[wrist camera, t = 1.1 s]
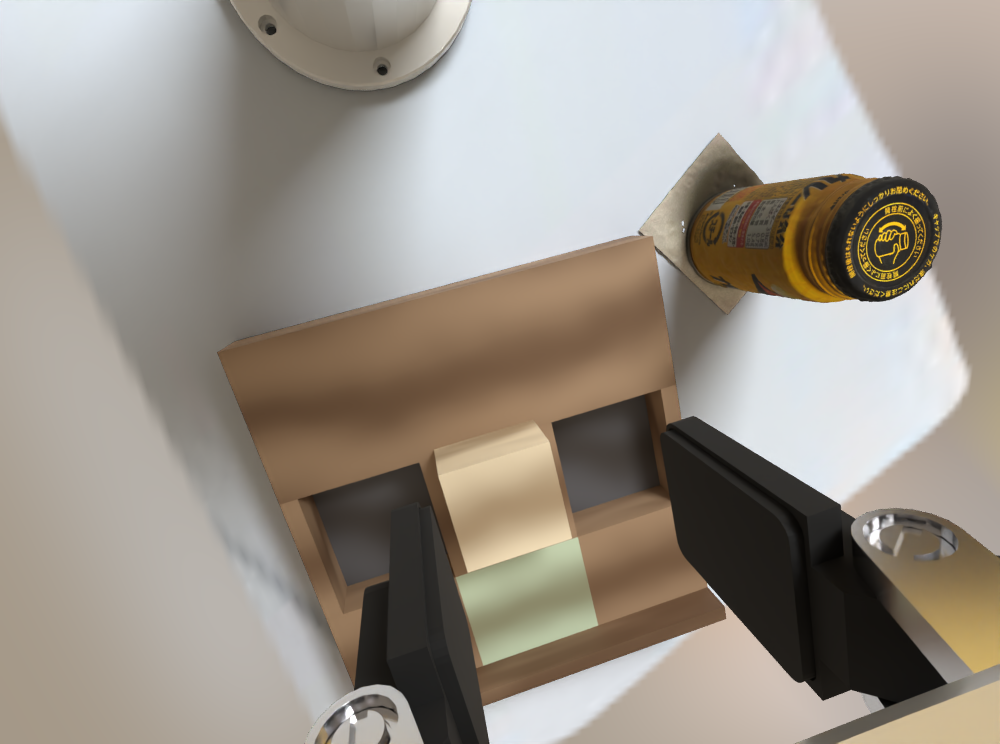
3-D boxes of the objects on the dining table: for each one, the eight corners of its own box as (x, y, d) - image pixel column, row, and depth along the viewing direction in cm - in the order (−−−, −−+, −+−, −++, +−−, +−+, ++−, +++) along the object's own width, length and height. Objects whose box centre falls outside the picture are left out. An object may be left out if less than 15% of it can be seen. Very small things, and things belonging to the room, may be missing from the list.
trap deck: (234, 341, 30) (203, 361, 25) (630, 235, 33) (670, 235, 28) (369, 682, 37) (365, 748, 32) (686, 572, 40) (726, 618, 35)
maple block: (433, 449, 30) (438, 475, 27) (533, 419, 31) (549, 441, 28) (460, 538, 32) (467, 572, 29) (554, 507, 33) (572, 538, 30)
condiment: (725, 314, 35) (883, 352, 24) (637, 230, 33) (765, 227, 21) (799, 226, 35) (997, 220, 23) (715, 133, 32) (890, 76, 21)
